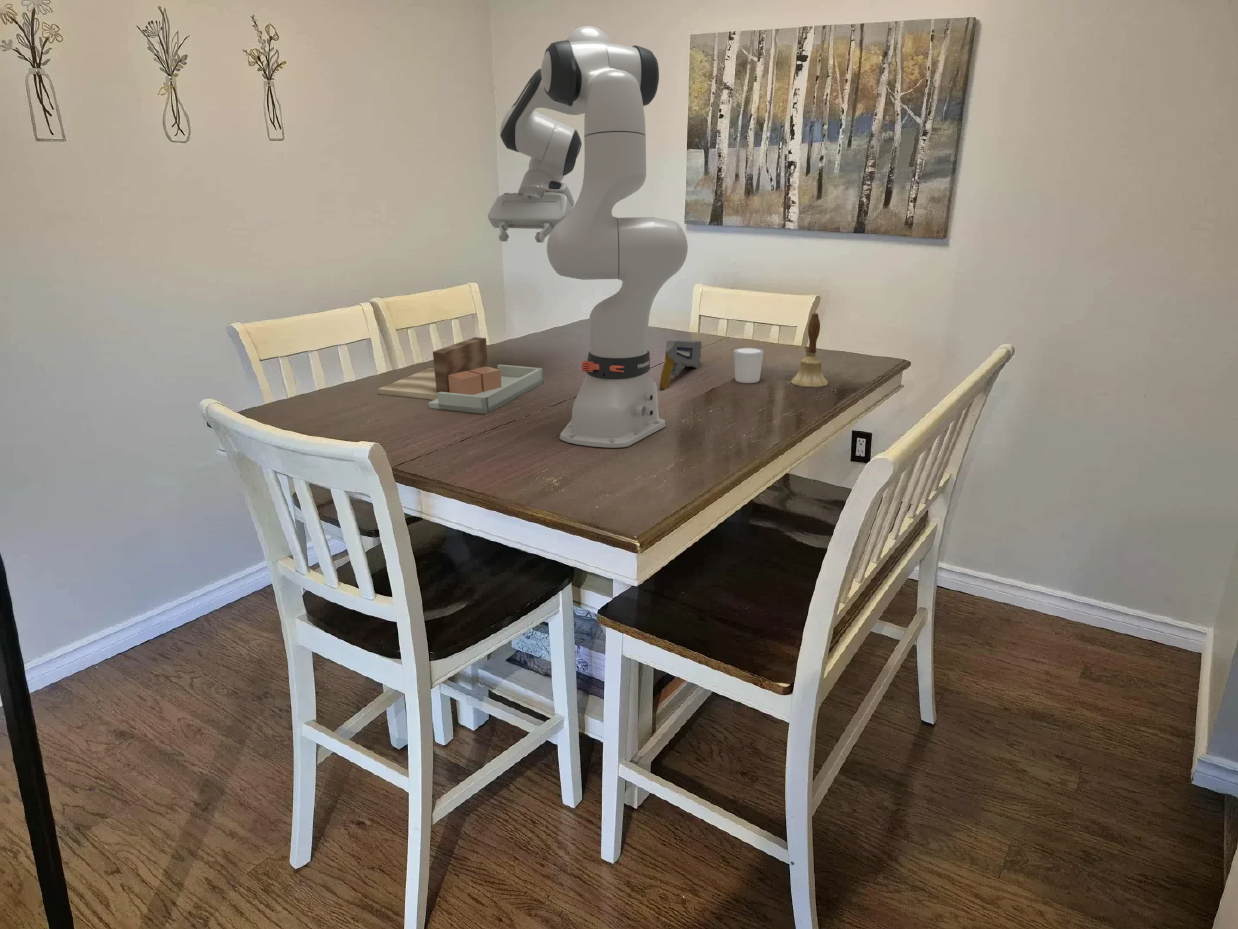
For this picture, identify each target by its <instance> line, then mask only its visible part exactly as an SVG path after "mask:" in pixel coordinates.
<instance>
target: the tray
mask: <svg viewBox="0 0 1238 929" xmlns="http://www.w3.org/2000/svg"><path fill="white" fill-rule="evenodd" d="M496 369H500V371H501V386H502V387H500V388H496V389H493V390H489V391H485V392H483V391H482V392H481V393H478V394H474V395H467V394H458V393H448V392H438V399H436V400H431V401H429V402H428V408H429V409H437V410H445V411H452V412H455V411H456V412H462V413H472V414H478V415H479V414H481V415H488V414H490V413H491V412H494V411H495V410H497V409H498V408H501V407H503V406H504V405H506V404H508V403H510V402H512V401H513V400H516V398H519V397H521V396H522V395H524V394H526V393H528V392H529V391H532V390H533V389H535V388H538V387H539V386H540V385H542V384H544V370H543V369H544V368H542V367H531V366H520V365H509V364H497V365H496Z"/></svg>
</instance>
